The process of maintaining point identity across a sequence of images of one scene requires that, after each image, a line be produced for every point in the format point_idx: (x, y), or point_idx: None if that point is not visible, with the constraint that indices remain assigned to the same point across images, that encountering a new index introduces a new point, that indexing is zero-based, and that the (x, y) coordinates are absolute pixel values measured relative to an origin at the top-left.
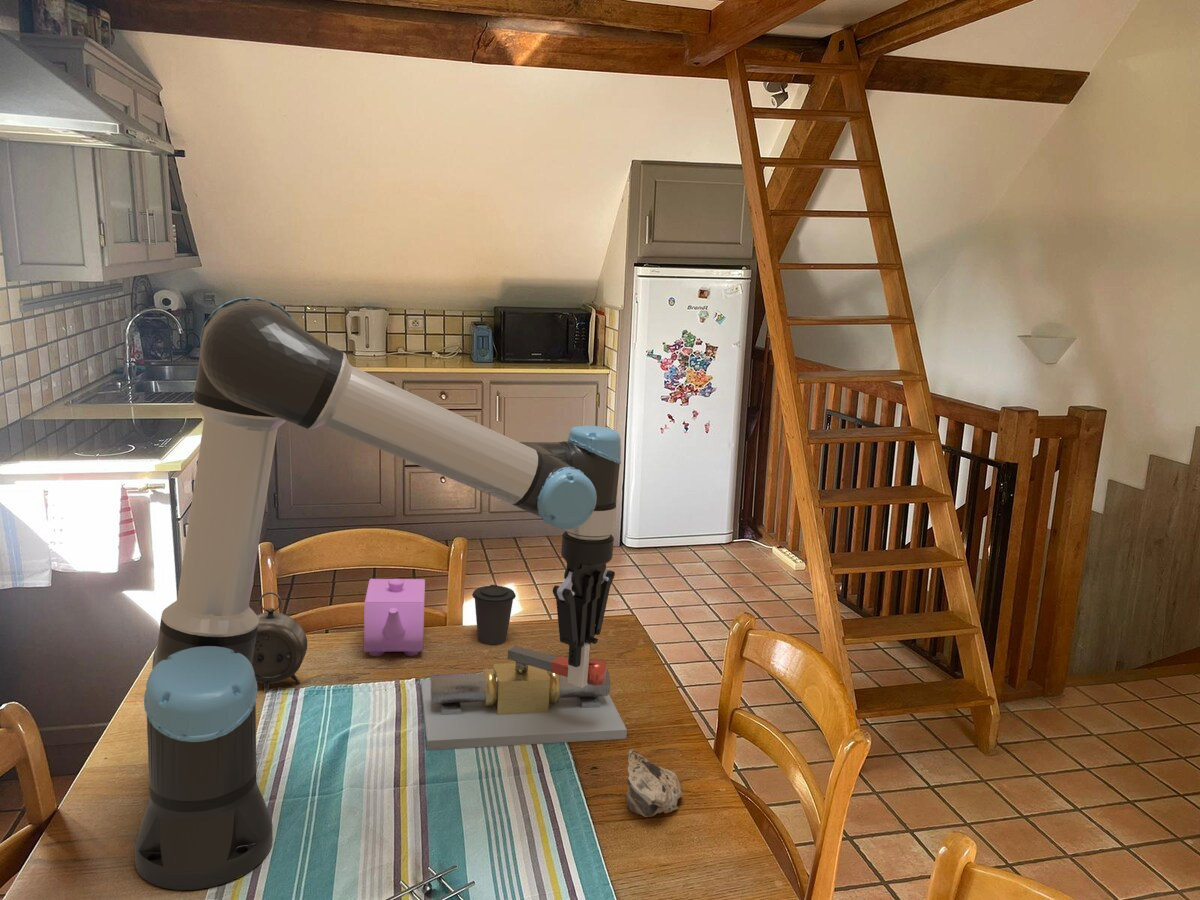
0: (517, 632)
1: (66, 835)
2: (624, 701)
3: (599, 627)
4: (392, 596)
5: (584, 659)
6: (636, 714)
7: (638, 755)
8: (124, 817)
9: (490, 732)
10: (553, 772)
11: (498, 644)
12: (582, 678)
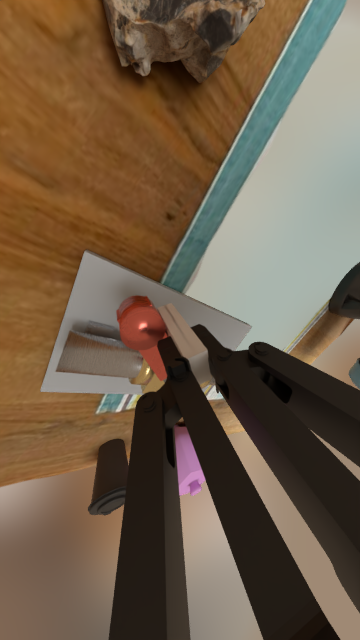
0: (82, 457)
1: (350, 320)
2: (29, 333)
3: (148, 418)
4: (202, 474)
5: (190, 331)
6: (28, 297)
7: (223, 6)
8: (338, 323)
9: (216, 320)
10: (208, 240)
11: (111, 440)
12: (176, 310)
